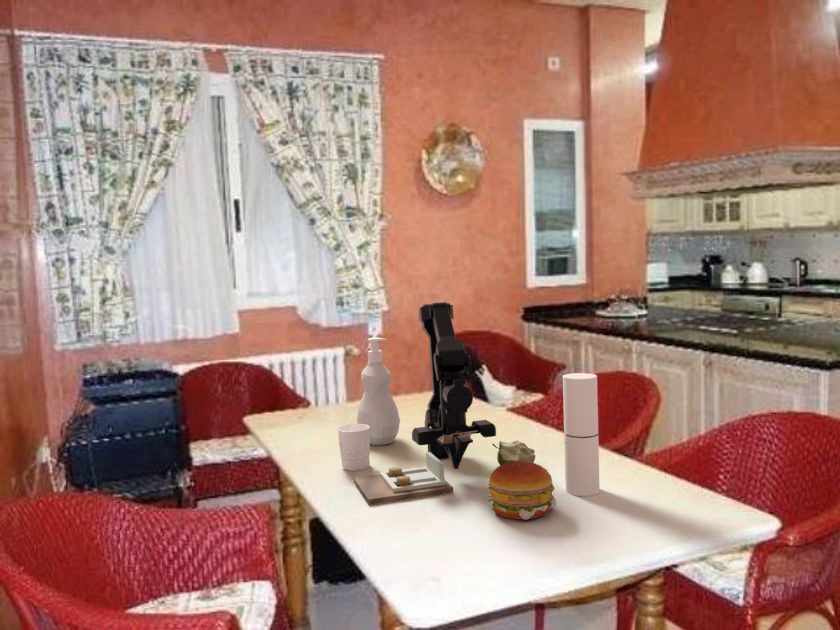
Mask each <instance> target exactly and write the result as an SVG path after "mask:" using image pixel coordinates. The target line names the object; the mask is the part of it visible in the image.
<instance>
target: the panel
mask: <svg viewBox="0 0 840 630" xmlns="http://www.w3.org/2000/svg"><path fill="white" fill-rule="evenodd" d="M425 457H426V461H425V462H426V466H422V467H413V468H408V469H402V472H401V473H399V474H402V475H405V476H409V477H410V481H409V482H407V483H410V484H413V485H409V486H402V487H397V486H396V485H400V483H399V482H397V477H391V478H389V476H392V474H391V473H389V471H385V472H380V473H379V474H380V476H381V477H382V479H383V480H384V481H385V482H386V484H387V485H388V486H389V487H390V489H391V490H392V491H393V492H398V491H405V490H413V489H420V488H427V487H434V486H441V485H446V481H447V480H446V479H445V464H444V462H442V460H441V459H438V458H436V457H435V456H434V455H433V454H432V453H431V452H428V451H427V452H426V453H425ZM444 479H445V480H446V481H445V480H444Z"/></svg>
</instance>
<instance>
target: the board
mask: <svg viewBox="0 0 840 630" xmlns="http://www.w3.org/2000/svg"><path fill="white" fill-rule="evenodd" d="M402 470H403V469H402V467H399V466H398V467H397V466H394V467H390V468H388V472H389V473H391V474H392V476H389V478H391V477H397V482H399V483H400V485H396V486H397V487H402V486H409V485H413V484H410V483H407V482H409V481H410V477H409V476H405V475H402V474H399V473H401V472H402ZM352 480H353V484H354V485H355V487H356V488H357V489H358V491H359V493H360V494H361V496H362V498H363V499H364V500H365V502H366V503H367V505H368V506H372V505H378V504H384V503H392V502H398V501H405V500H411V499H412V500H413V499H418V498H426V497H427V498H428V497H434V496H439V495H445V494H447V495H448V494H453V493H454V487H453V486H452V485H451V484H450V483H449V482H448V481H447V480H446V479H445V478H444V480H445V481H446V485H441V486H434V487H427V488H420V489H413V490H405V491H398V492H393V491H392V490H391V489H390V487H389V486H388V485H387V484H386V482H385V481H384V480H383V479H382V477H381V476H380V473H377V474H370V475H369V474H368V475H363V476H356V477H353V479H352Z"/></svg>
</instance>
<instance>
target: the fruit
mask: <svg viewBox="0 0 840 630" xmlns="http://www.w3.org/2000/svg"><path fill="white" fill-rule="evenodd" d="M498 444H499V445H498V446H499V447H498V446H496V445H495V444H494V443H492V446H493V447H494V448H496V449H498V451H497V455H496V456H497V457H496V460H497V462H498V464H499V466H501V465H503V464H505V463H508V462H513V461H527V462H532V463H535V460H536V454H535V449H533V448H530V447H528V445H527V444H526V443H525V442H522V441H519V440H514V441H512V442H505V441H502V440H499V443H498Z"/></svg>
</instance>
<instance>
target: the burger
mask: <svg viewBox="0 0 840 630" xmlns="http://www.w3.org/2000/svg"><path fill="white" fill-rule="evenodd" d="M552 478H553V477H552V475H551V474H550V472H549V471H548V470H547V469H546V468H545V467H543V466H542V465H540V464H537V463H535V462H533V463H532V462H527V461H513V462H508V463H505V464H503V465H499V466H497V467H496V468H495V469H494V470H492V472H491V474H490V475H489V480H488V484H487V485H488V488H487V489H488V491H489V495H488V502H489V506H490V509H492V510H493V512H494V513H495V514H497V515H499V516H501V517H503V518H508V519H514V520H529V519H530V520H531V519H536V518H539V517H543V516H545V515H547V513H549V512H550V510H554V508H556V506H557V502H556V497H555V495H553V492H554V491H555V489H556V488H555V486H554V484H553V479H552Z"/></svg>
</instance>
